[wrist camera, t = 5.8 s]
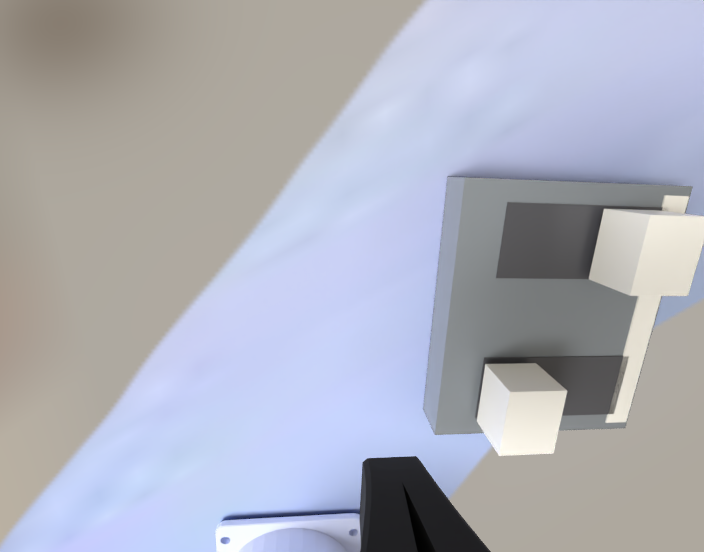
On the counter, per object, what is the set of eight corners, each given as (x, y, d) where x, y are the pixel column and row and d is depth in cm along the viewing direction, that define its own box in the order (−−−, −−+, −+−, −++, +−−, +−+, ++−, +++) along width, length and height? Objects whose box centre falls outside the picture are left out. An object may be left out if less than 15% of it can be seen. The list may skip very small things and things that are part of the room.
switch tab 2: (639, 279, 16) (687, 296, 14) (588, 279, 16) (630, 295, 14) (657, 210, 15) (711, 216, 13) (603, 208, 15) (650, 214, 13)
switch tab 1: (525, 419, 18) (553, 453, 16) (476, 421, 18) (498, 455, 15) (536, 363, 17) (567, 390, 15) (485, 363, 17) (510, 391, 15)
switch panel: (596, 404, 21) (627, 430, 19) (423, 409, 20) (435, 437, 18) (651, 184, 18) (696, 186, 16) (447, 176, 17) (466, 177, 15)
